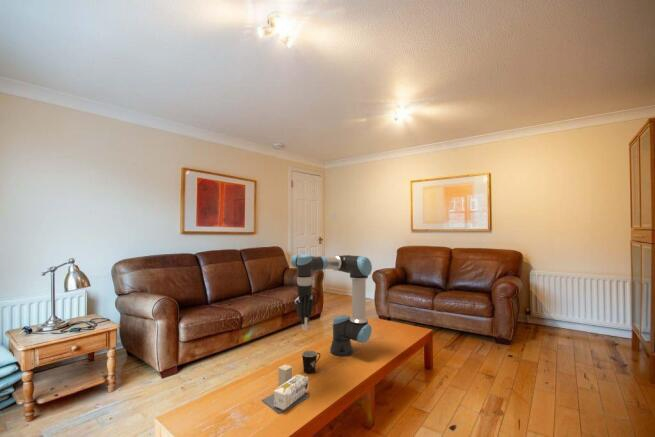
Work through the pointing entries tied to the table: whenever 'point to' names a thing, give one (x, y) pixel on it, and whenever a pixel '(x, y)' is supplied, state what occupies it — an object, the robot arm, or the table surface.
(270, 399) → the mat
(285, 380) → the sandstone block
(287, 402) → the juice carton
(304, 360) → the coffee mug
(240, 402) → the table surface
